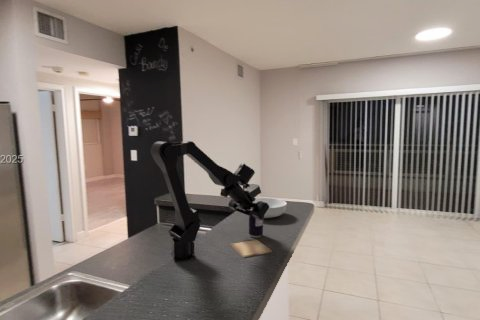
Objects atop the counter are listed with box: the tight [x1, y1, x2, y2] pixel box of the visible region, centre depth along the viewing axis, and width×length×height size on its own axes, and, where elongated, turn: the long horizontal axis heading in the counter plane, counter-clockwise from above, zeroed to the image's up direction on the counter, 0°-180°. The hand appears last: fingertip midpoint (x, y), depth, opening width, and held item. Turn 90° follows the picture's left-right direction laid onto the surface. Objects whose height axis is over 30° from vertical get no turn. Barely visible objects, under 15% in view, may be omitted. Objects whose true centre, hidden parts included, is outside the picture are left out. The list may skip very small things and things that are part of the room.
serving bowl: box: [253, 197, 288, 219], centre depth 147 cm, size 21×21×7 cm
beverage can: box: [248, 209, 264, 238], centre depth 118 cm, size 6×6×12 cm
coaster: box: [230, 239, 273, 258], centre depth 105 cm, size 11×11×1 cm
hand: (258, 217), depth 119 cm, fingers closed on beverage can, 6 cm apart
